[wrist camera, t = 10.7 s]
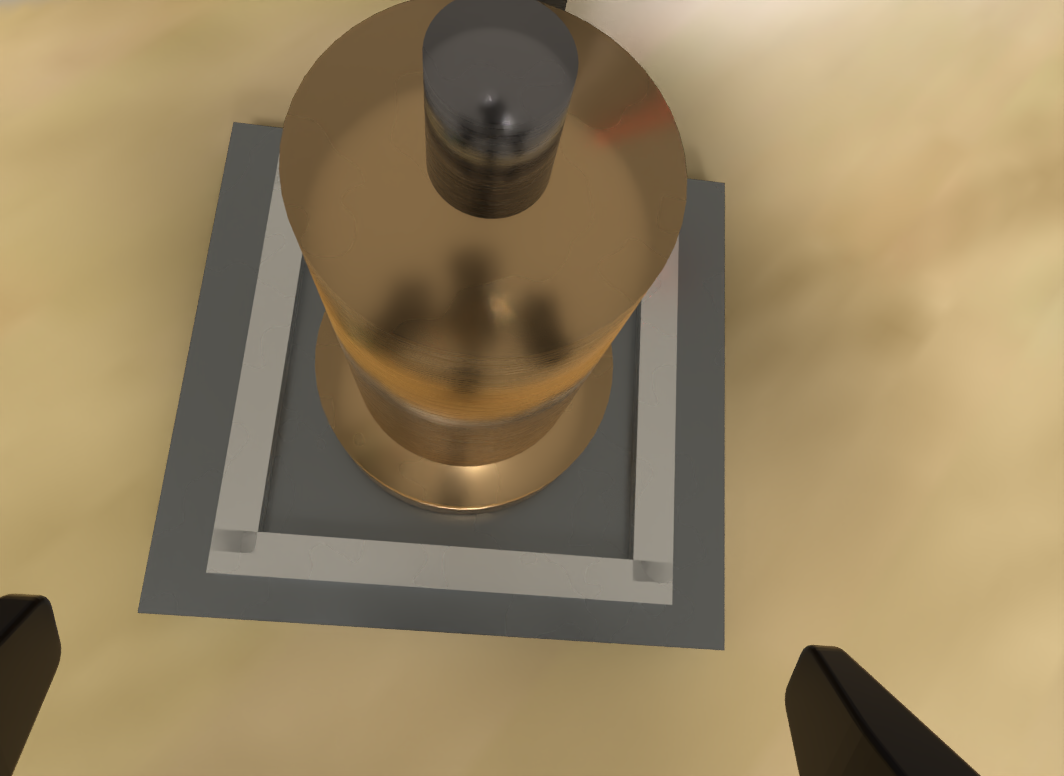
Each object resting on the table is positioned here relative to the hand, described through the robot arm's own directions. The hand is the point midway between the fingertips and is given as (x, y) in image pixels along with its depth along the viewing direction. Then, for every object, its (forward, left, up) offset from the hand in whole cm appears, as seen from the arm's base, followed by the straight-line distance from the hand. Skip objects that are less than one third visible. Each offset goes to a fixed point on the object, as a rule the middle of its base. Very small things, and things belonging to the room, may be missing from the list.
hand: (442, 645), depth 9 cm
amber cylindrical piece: (+5, -3, -9) cm, 11 cm away
